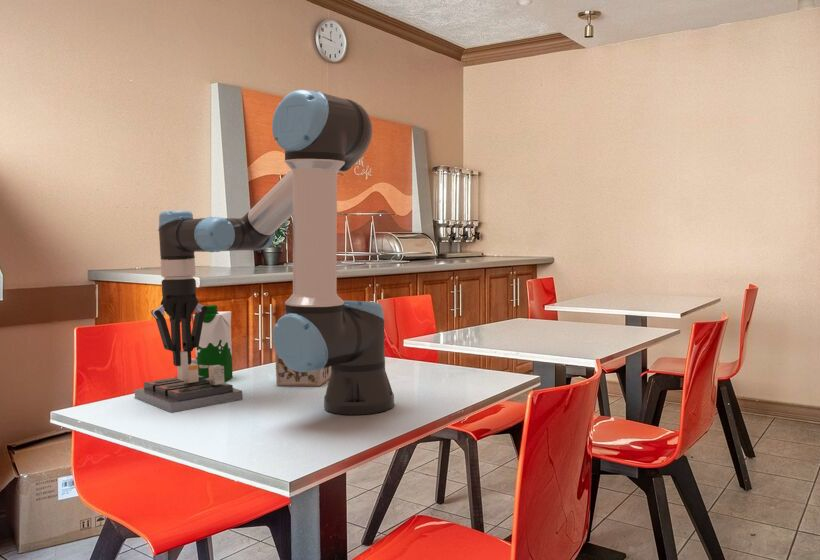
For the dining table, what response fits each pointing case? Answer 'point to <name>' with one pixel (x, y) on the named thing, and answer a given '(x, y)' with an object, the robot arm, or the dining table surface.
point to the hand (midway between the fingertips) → (183, 379)
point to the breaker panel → (185, 403)
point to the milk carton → (215, 342)
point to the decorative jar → (299, 375)
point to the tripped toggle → (192, 373)
